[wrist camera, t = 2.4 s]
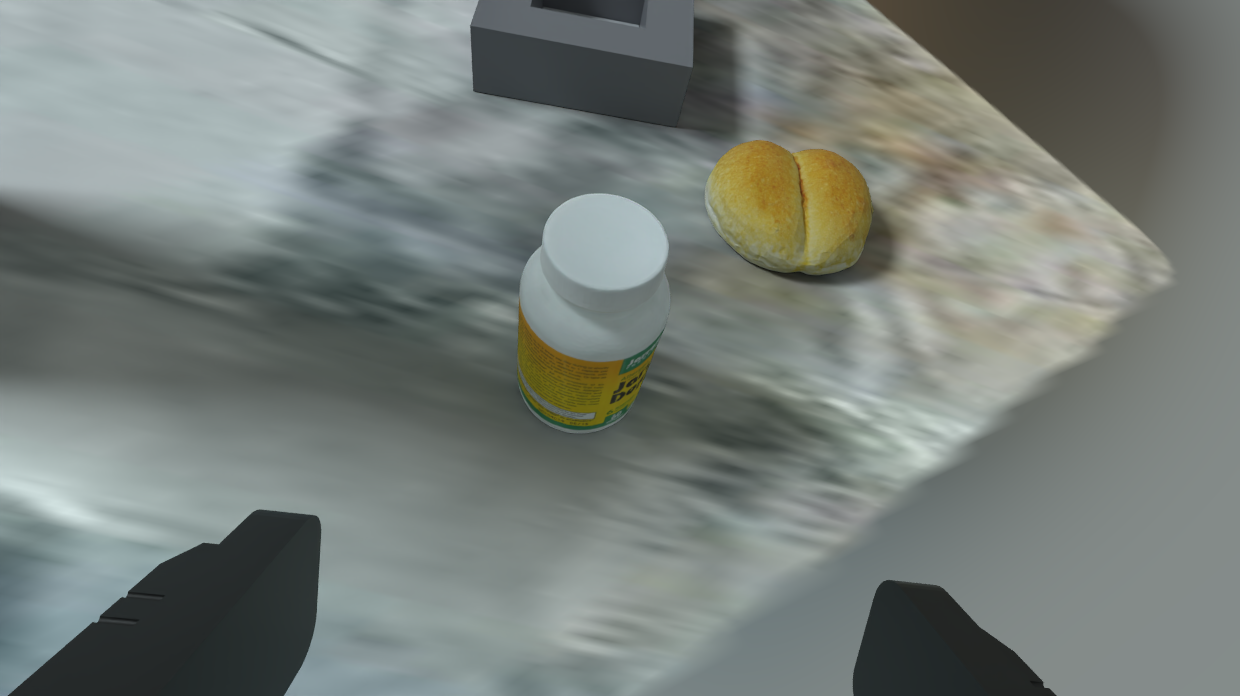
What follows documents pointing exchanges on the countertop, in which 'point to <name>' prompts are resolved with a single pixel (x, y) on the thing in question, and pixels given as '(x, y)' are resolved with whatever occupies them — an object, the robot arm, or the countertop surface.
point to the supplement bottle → (591, 312)
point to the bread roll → (790, 207)
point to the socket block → (587, 54)
